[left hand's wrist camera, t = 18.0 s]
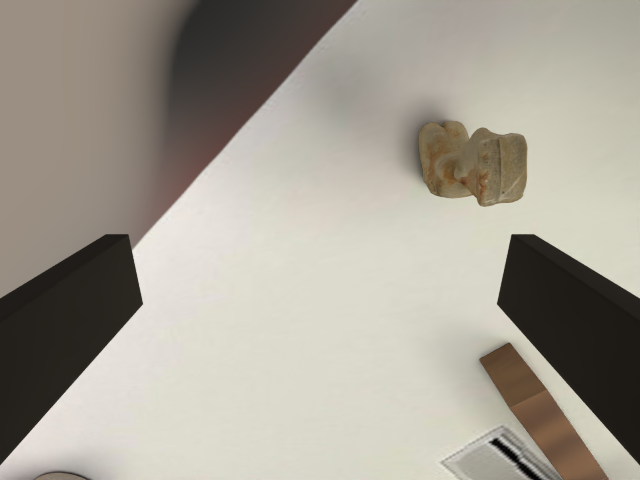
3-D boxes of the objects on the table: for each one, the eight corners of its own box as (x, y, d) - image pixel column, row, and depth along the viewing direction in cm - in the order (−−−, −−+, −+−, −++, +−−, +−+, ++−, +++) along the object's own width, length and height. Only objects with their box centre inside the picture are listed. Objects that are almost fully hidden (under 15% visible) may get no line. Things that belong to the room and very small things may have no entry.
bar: (479, 359, 49) (509, 408, 41) (509, 342, 48) (547, 389, 40) (581, 495, 59) (621, 556, 51) (608, 484, 58) (653, 544, 50)
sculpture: (466, 118, 37) (555, 126, 23) (462, 185, 40) (539, 229, 26) (411, 123, 37) (465, 134, 23) (410, 189, 40) (459, 235, 26)
